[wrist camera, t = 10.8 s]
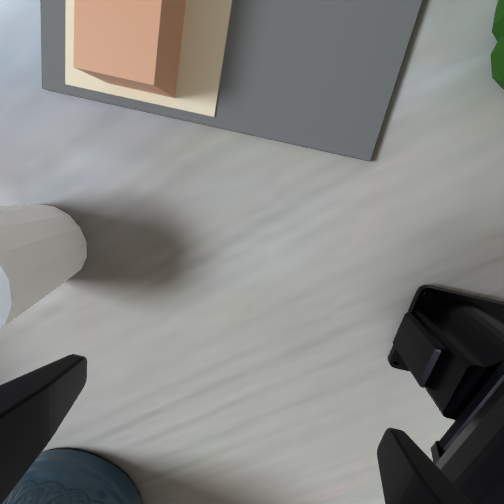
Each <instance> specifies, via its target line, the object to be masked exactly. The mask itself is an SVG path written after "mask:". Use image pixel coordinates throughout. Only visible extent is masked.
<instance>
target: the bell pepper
mask: <svg viewBox="0 0 504 504" xmlns="http://www.w3.org/2000/svg"><path fill="white" fill-rule="evenodd" d="M492 32H493V34H494V36H495V38H496V39H497V41H498V42H497V44H496V46H495V48H494V50H493V51H492V53H491V65H492V77H493V79H494V80H495V81H496V82H497V83H498V84H499V85H500V86H501V87H502V88H503V89H504V0H499V1H498V4H497V7H496V12H495V18H494V23H493V29H492Z"/></svg>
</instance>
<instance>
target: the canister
mask: <svg viewBox="0 0 504 504" xmlns="http://www.w3.org/2000/svg"><path fill="white" fill-rule="evenodd" d="M2 504H141V500H140V497H139V494H138V492H137V490H136V488H135V486H134V485H133V483H132V482H131V481H130V479H129V478H128V477H127V476H126V475H125V474H124V473H123V472H122V471H121V470H119V469H118V468H117V467H115V466H114V465H113V464H111V463H109V462H108V461H106V460H104V459H102V458H100V457H97V456H95V455H92V454H89V453H86V452H82V451H77V450H70V449H56V450H49V451H45V452H42V453H40V455H39V456H38V457H37V459H36V460H35V461H34V463H33V464H32V465H31V467H30V468H29V469H28V470H27V472H26V473H25V474H24V476H23V477H22V478H21V480H20V481H19V482H18V484H17V485H16V486H15V488H14V489H13V490H12V492H11V493H10V494H9V496H8V497H7V498H6V499H5V501H4V502H3V503H2Z"/></svg>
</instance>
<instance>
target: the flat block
mask: <svg viewBox="0 0 504 504" xmlns="http://www.w3.org/2000/svg"><path fill="white" fill-rule="evenodd" d="M185 6H186V0H74V60H73V67H74V68H76V69H78V70H80V71H83V72H85V73H87V74H89V75H91V76H93V77H95V78H98V79H100V80H102V81H104V82H106V83H109V84H113V85H117V86H122V87H126V88H131V89H135V90H140V91H144V92H149V93H153V94H158V95H162V96H167V97H171V98H175V93H176V85H177V76H178V67H179V58H180V50H181V41H182V32H183V24H184V15H185Z"/></svg>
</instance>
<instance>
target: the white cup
mask: <svg viewBox="0 0 504 504" xmlns="http://www.w3.org/2000/svg"><path fill="white" fill-rule="evenodd" d="M86 258H87V242H86V240H85V237H84V235H83V233H82V230H81V228H80V227H79V225H78V224H77V223H76V222H75V221H74V220H73V219H72V218H71V216H70V215H68V214H67V213H65V212H63V211H62V210H60V209H58V208H56V207H54V206H48V205H42V204H31V205H15V206H0V329H1V328H2V327H4V326H5V325H7V324H8V323H9V322H11V321H12V320H13V319H15V318H16V317H17V316H19V315H20V314H22V313H23V312H24V311H26V310H27V309H28V308H30V307H31V306H33V305H34V304H35V303H37V302H38V301H39V300H41V299H42V298H43V297H45V296H46V295H48V294H49V293H50V292H52V291H53V290H54V289H56V288H57V287H59V286H60V285H61V284H63V283H64V282H65V281H67V280H68V279H69V278H71V277H72V276H73V275H75V274H76V273H77V272H78V271H80V270H81V269H82V267H83V265H84V263H85V260H86Z"/></svg>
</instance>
